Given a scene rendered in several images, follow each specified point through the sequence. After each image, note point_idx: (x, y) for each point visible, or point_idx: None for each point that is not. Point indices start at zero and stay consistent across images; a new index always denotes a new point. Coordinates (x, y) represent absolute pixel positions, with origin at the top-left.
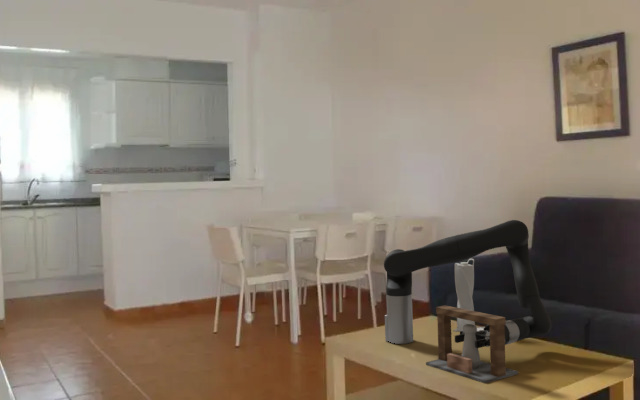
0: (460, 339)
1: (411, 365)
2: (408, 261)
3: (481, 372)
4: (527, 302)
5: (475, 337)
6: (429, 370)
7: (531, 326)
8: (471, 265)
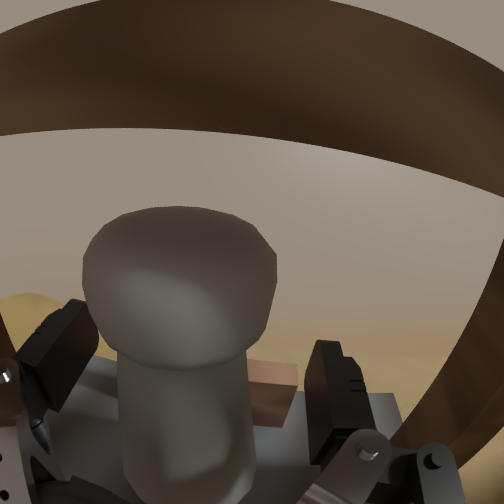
0: (312, 402)
1: (402, 364)
2: None
3: (90, 418)
4: None
5: (119, 365)
6: None
7: None
8: None
